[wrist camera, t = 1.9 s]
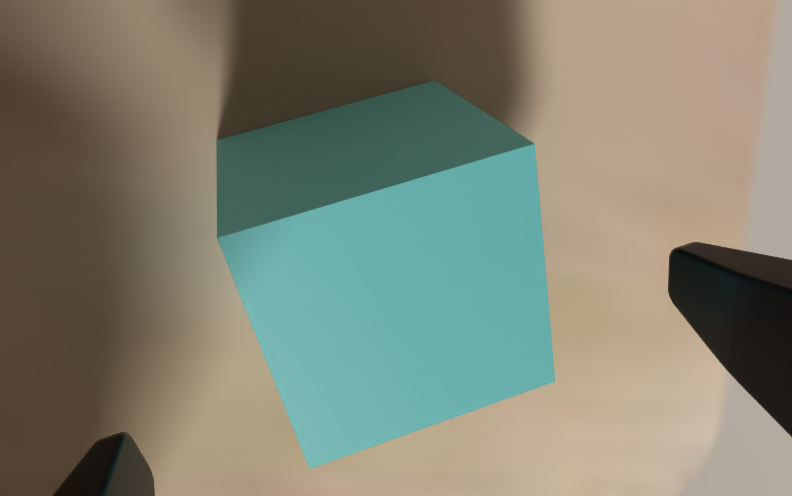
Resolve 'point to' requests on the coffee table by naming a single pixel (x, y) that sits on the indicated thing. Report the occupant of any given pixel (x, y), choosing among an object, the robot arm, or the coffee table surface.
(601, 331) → the coffee table surface
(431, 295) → the teal cube
